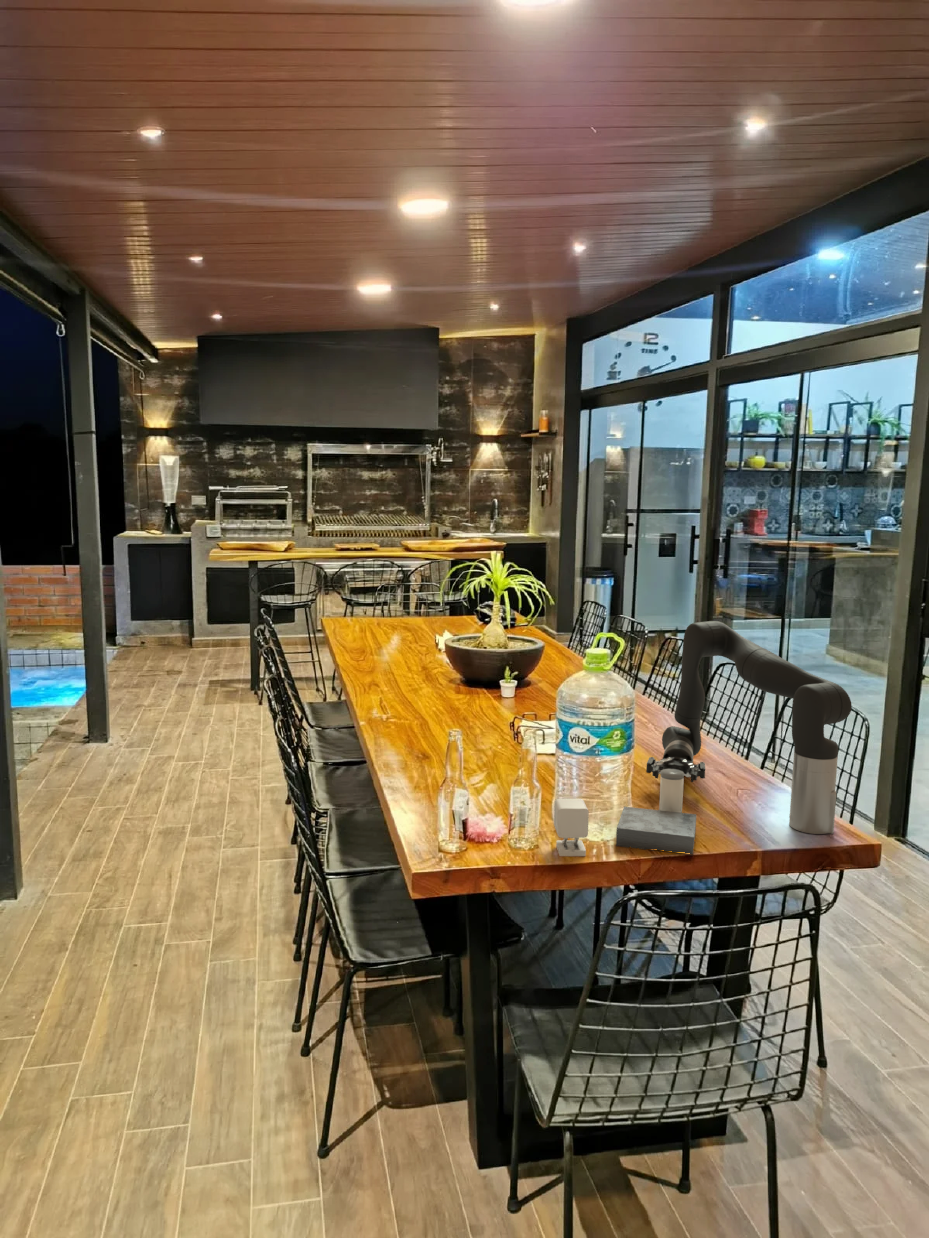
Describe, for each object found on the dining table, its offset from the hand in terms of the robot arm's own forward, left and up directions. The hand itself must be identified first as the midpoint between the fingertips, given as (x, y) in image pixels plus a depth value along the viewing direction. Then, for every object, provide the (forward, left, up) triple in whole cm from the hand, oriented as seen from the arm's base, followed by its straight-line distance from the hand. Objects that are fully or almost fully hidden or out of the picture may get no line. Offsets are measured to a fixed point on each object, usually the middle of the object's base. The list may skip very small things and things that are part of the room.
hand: (674, 776), depth 224 cm
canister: (0, +11, -7) cm, 13 cm away
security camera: (+19, +37, -7) cm, 42 cm away
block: (+2, +25, -7) cm, 26 cm away
